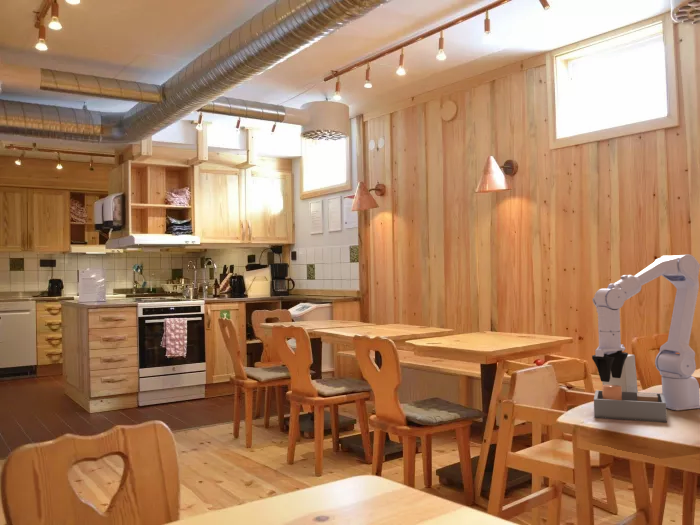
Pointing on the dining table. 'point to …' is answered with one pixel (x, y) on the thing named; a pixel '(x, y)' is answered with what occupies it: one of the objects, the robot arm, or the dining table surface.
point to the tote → (630, 408)
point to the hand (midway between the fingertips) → (610, 379)
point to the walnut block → (647, 397)
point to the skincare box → (626, 376)
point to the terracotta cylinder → (612, 392)
